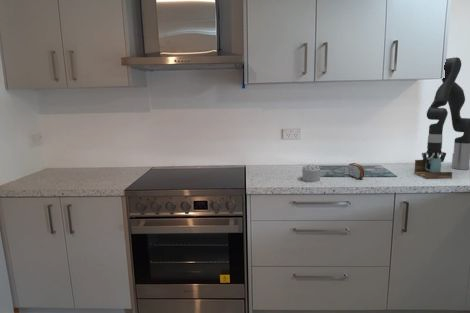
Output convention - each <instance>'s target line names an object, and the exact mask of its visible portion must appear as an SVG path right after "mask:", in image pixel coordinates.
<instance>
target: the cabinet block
mask: <svg viewBox="0 0 470 313" xmlns="http://www.w3.org/2000/svg"><path fill="white" fill-rule="evenodd" d="M430 164H431V165H430V170H429V169H427V168H426V167H425V170H428V171H430V172H441V169H442V162H441V159H439V158H433V159H431V163H430ZM426 166H427V163H426Z"/></svg>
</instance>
